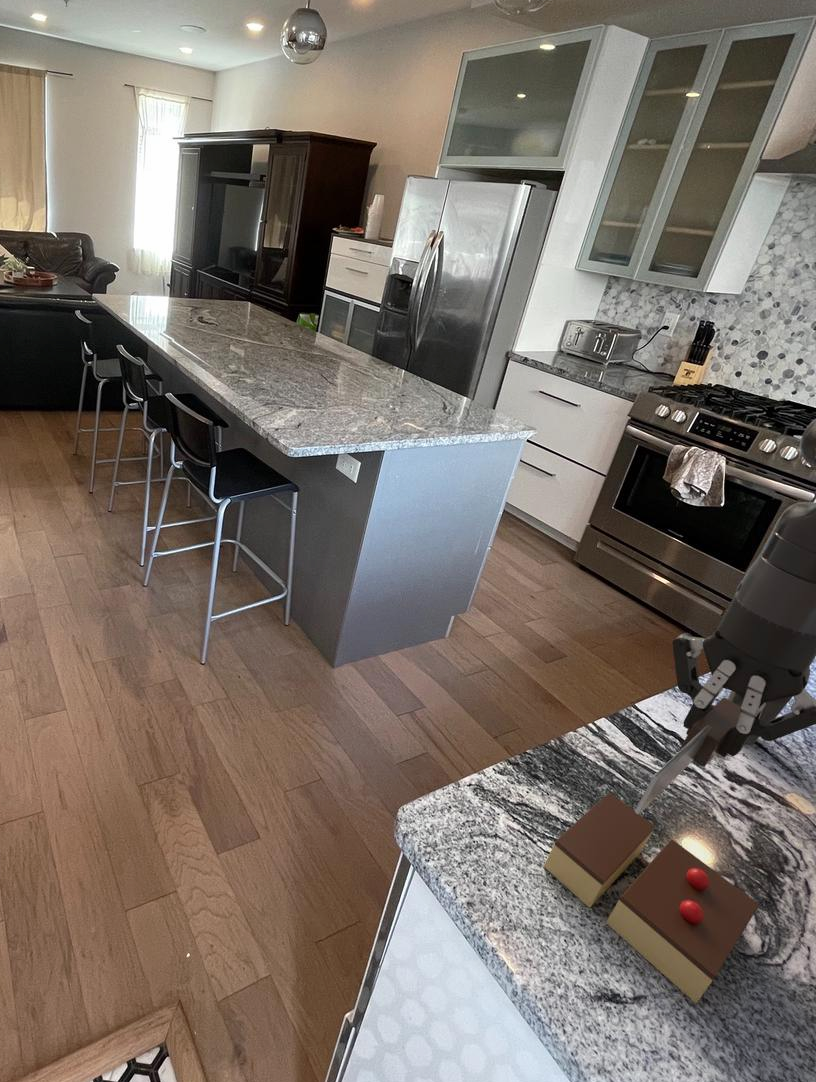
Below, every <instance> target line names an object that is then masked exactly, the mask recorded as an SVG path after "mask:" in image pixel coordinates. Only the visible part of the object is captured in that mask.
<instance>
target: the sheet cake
mask: <svg viewBox="0 0 816 1082" xmlns="http://www.w3.org/2000/svg"><path fill="white" fill-rule="evenodd" d="M759 906H760V904H759V903H758V902H757V901H755V900H754V899H753V898H752V897H750V896H749V895H748V894H746V893H745V892H743V891H742V890H741V889H739V887H737V886H736V885H734V884H733V883H732V882H731V881H729V880H727V879H726V878H725V877H723V876H722V875H720V873H718V872H717V871H715V870H714V869H713V868H711V867H710V866H708V865H707V863H705V862H703V861H702V860H701V859H699V858H698V857H697V856H696V855H694V854H693V853H691V852H690V851H689V850H688V849H686V848H685V847H683V845H680V844H679V843H678V842H677V841H676V840H674V839H672V838H670V840H669V841H668V842H667V843H666V844H665V845H664V846H663V848H661V850H660V851H659V852H658V853H657V854H656V856H654V858H653V859H652V860H651V862H649V864H647V866H646V867H645V868H644V869H643V871H642V872H641V873H640V874H639V875H638V876H637V878H635V880H634V881H633V882H632V883H631V884H630V885H629V887H628V888H627V889H626V890H625V891H624V892H623V893H622V894H621V895H620V898H619V899H618V901H617V902H616V904H615V906H614V908H613V909H612V911H611V913H610V915H609V917H608V918H607V920H606V922H605V923H606V925H608V927H610V928H611V929H612V930H613V931H614V932H615V933H617V934H618V936H620V937H621V938H622V939H623V940H625V941H626V942H627V943H628V944H629V945H630V946H631V947H632V948H633V949H635V950H636V951H637V952H638V953H639V954H640V956H642V957H643V958H644V959H645V960H647V962H649V963H650V964H651V965H652V966H653V967H654V968H656V970H658V971H659V972H660V973H661V974H662V975H664V977H666V979H668V980H669V982H671V983H672V984H673V985H675V987H676V988H678V989H679V990H680V991H681V992H682V993H683V994H684V995H686V996H687V997H688V998H689V999H690V1000H691V1001H692V1003H695V1004H697V1003H698V1002H699V1001H700V999H701V998H702V997H703V995H704V993H706V991H707V989H708V988H709V987H710V985H711V984H712V982H713V981H714V980H715V978H716V977H717V975H718V973H719V972H720V970H721V969H722V967H723V965H724V964H725V962H726V960H727V959H728V957H729V956H730V954H731V952H732V951H733V949H734V947H735V946H736V944H737V942H738V941H739V939H740V938H741V936H742V934H743V932H744V931H745V929H746V928H747V927H748V925H749V923H750V921H751V920H752V918H753V916H754V914H755V913H756V911H757V910H758V908H759Z"/></svg>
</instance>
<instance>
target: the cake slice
mask: <svg viewBox="0 0 816 1082" xmlns="http://www.w3.org/2000/svg"><path fill="white" fill-rule="evenodd" d="M655 828H656V826H655V825H654V824H653V823H651V822H650V821H649V820H647V819H646V818H644V816H642V815H640V814H639V815H638V814H637V813H635V809H632V808H631V807H630V806H629V805H627V804H626V803H624V802H623V800H620V799H619V798H618V797H616V796H615V795H614V794H612V793H611V792H610V791H609V792H608V793H607V794H605V795H604V797H602V798H601V799H600V800H599V801H597V803H596V804H594V805H593V806H592V807H591V808H590V809H589V810H588V811H587V812H585V813H584V814H583V815H582V816H580V818H579V819H578V820H577V821H576V822H575V823H573V824H572V825H571V826H570V827H569V828H568V829H567V830H566V831H565V832H563V833H562V834H561V836H559V837H558V838H557V839H556V840H555V842H554V844H553V845H552V847H551V850H550V852H549V854H548V856H547V858H546V860H545V862H544V863H543V868H544V869H546V871H548V872H549V873H550V875H552V876H553V877H554V878H555V879H557V880H558V881H559V882H560V883H561V884H562V885H563V886H564V887H565V888H566V889H568V890H569V891H570V892H571V893H572V894H573V895H574V896H576V898H578V899H579V900H580V901H581V902H582V903H583V904H584V905H586V906H587V907H588V908H589V909H590V908H592V906H593V905H595V903H596V902H597V901H598V900H599V899H600V897H602V896H603V894H604V893H605V892H606V891H607V890H608V889H609V888H610V887H611V885H613V883H614V882H615V881H616V880H617V879H618V878H619V877H620V876H621V875H622V874H623V872H624V871H625V870H626V869H627V868H628V867H629V866H630V865H631V864H632V863H633V862H634V860H635V859H636V858H637V857H638V856H639V855H640V854H641V853H642V851H643V849H644V848H645V846H646V844H647V842H648V841H649V839H650V837H651V835H652V834H653V832H654V830H655Z"/></svg>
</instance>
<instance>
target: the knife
mask: <svg viewBox="0 0 816 1082" xmlns="http://www.w3.org/2000/svg"><path fill="white" fill-rule="evenodd" d="M713 706H714V707H713V708H712V709H711V710H710V711H709V712H708V713H707V714H705V715H704V716H703V717H702V718H701V719H699V720H698V721H697V722H696V723H695V724H694V725H693V726H692V728H691V730H690V731H689V733H688V735H687V734H686V737H685V739H684V741H683V742H682V744H681V746H680V748H679V749H678V750H679V751H678V752H677V753H676V754H675V755H674V756H673V757H672V758H670V760H668V761H667V763H665V765H663V766H662V767H661V768H660V769H659V770H658V771H657V772H656V773H655V774H653V776H652V778H651V780H650V782H649V784H648V786H647V787H646V789H645V791H644V793H643V795H642V796H641V798H640V800H639V802H638V804H637V806H636V807H635V809H634V811H635V813H637V814H638V815H640V814H641V813H642V812H643V811H644V810H645V809H646V808H648V806H649V805H650V804H651V803H652V802H653V801H654V800H655V799H656V798H657V797H658V796H659V795H660V794H661V793H662V792H663V791H664V790H665V789H666V788H667V787H668V786H670V784H671V783H673V781H674V780H676V778H677V777H678V776H679V775H680V774H682V772H683V771H684V770H685V769H686V768H687V767H688V766H689V765H690V764H691V763H692V762H693V761H694V762H696V763H697V764H699V765H700V766H702V767H704V768H705V767H706V766H708V764H709V763H710V762H711V761H712V760H713V759H714V758H715V757H716V756H717V754H718V751H719V749H720V747H721V746H722V744H723V742H724V740H725V739H726V737H727V735H728V734H729V732H730V729H731V728H732V727H733V726H734V725H735V724H736V723H737V720H738V717H739V714H740V708H741V707H740V706H738V705H737V704H735V703H733V702H731V701H729V700H728V698H726V697H722V698H721V699H720V700H719V701H718V702H716V703H715V704H714V705H713Z"/></svg>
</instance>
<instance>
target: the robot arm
mask: <svg viewBox="0 0 816 1082" xmlns="http://www.w3.org/2000/svg"><path fill="white" fill-rule="evenodd" d="M799 449H800V453H801V456H802V458H803V460H804V461H805V463H806V464H807V465H808V466H809V467H810V468H812V469H813V470H814V471H816V418H814V419H813V420H812V421H811V422H810V423H809V424H808V426H807V427H806V428H805V430H804V432H803V433H802V435H801V438H800V442H799ZM671 645H672V650H673V659H674V666H675V676H676V682H677V689H678V691H680V692H681V693H682V694H687V695H688V697H689V698H690V699H691V701H692V705H691V707H690V709H689V711H688V713H687V714H686V716H685V718H684V720H683V727H684V728H685V729H687V730H686V732H685V735H686V736H687V735H688V733H689V731H690V730H691V728H692V726H693V725H694V724H695V723H696V722H697V721H698V720H699V719H701V718H702V717H703V716H704V715H705V714H707V713H708V712H709V711H710V710H711V709H712V708H713V707H714V706H715V705H713V703H714V701H715V699H716V698H717V697H718V696H719V695H720V693H721V692H722V691H723V690H724V689H725V690H728V691H730V692H731V691H734V692H735V693H737V694H738V695H739V696H740V697H741V698H743V699H744V700H743V703H742V705H741V708H740V714H739V717H738V720H737V723H736V724H735V725H734V726H733V727H732V728H731V729H730V732H729V734H728V735H727V737H726V739H725V740H724V742H723V744H722V746H721V747H720V749H719V751H718V753H717V754H718V755H719V756H721V757H722V758H723V759H724V758H726V757H727V756H728V755H729V756H731V757H735V756H737V755H738V754H739V753H740V752H741V751H742V750H743V748H744V746H745V745H746V744H745V743H746V741H747V739H748V738H749V736H750V735H756V736H760V737H759V738H761V739H762V740H763V741H765V742H773V741H776V740H778V739H780V738H783V737H786V736H788V735H791V734H793V733H796V732H799V731H802V730H804V729H807V728H810V727H812V726H814V725H816V699H815V698H814V696H812V695H811V694H810V693H809V691H807V689H806V687H807V685H806V679H805V675H806V672H807V670H808V668H809V667H810V668H811V665H812V663H814V660H815V659H816V502H814V501H813V502H812V501H801V502H796V503H793V504H791V505H789V506H788V507H787V508H786V509H784V511H783V512H782V513H781V515H780V516H779V517H778V519H777V521H776V523H775V525H774V526H773V529H772V531H771V533H770V534H769V536H768V538H767V540H766V542H765V544H764V545H763V548H762V550H761V552H760V553H759V554H758V556H757V558H756V559H755V560H754V562H753V563H752V564H751V565H750V567H749V568H748V570H747V571H746V573H745V575H744V576H743V578H742V580H740V581H739V583H738V585H737V587H736V592H735V594H734V595H733V598H732V599H731V601H730V603H729V605H728V607H727V609H726V610H725V612H724V614H723V617H722V619H721V620H720V622H719V624H718V626H717V628H716V629H715V631H714V632H712V633H711V634H709V635H708V636H706V637H705V638H704V637H697V636H694V635H692V634H691V633H689V632H683V633H681V634H680V635H678V636H677V637H675V639H673V640H672V644H671ZM702 650H703V651H704V655H705V659H706V662H707V664H708V669H709V671H710V674H711V676H710V677H709V678H708V680H707V681H706V682H705V684H704V685H702V684H701V683H700V677H699V669H698V660H697V658H698V657H699V656H700V655H701V654H702ZM792 696H793V697H792ZM788 697H792V698H794V700H795V701H794V702H793V703H792V704H791V706H790V711H791V712H788V713H786V714H782V715H781V716H777V717H776V718H775V719H773V720H770V721H765V720H761V719H759V718H760V715H761V713H762V710H763V708H764V706H765V704H766V702H771V701H775V700H779V699H783V698H788Z"/></svg>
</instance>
